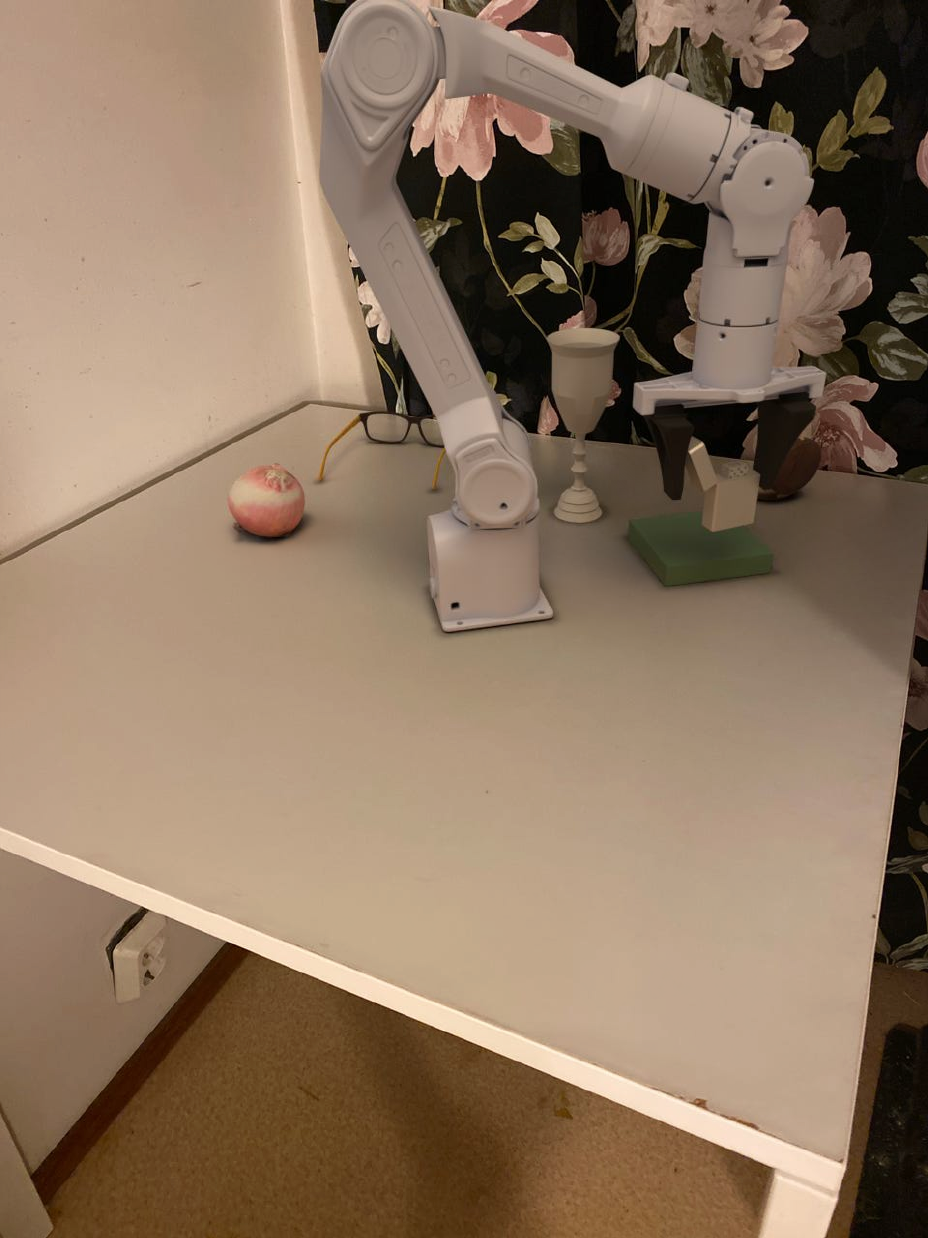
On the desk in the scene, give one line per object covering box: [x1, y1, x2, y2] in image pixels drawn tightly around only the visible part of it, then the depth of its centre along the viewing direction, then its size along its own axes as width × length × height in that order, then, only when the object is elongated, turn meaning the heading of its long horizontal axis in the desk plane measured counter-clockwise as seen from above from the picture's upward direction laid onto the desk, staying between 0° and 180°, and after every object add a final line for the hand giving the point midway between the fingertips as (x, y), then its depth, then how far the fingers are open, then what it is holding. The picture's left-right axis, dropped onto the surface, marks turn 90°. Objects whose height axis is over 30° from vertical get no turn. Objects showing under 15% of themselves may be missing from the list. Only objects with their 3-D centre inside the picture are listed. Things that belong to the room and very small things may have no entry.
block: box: [627, 510, 774, 587], centre depth 81 cm, size 10×10×2 cm
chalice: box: [546, 327, 621, 524], centre depth 86 cm, size 7×7×18 cm
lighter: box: [685, 435, 760, 532], centre depth 70 cm, size 7×2×8 cm, turn 110°
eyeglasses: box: [318, 410, 446, 491], centre depth 104 cm, size 14×14×4 cm
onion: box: [227, 462, 306, 538], centre depth 88 cm, size 8×8×7 cm
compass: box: [757, 435, 822, 501], centre depth 91 cm, size 8×8×7 cm
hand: (716, 490), depth 70 cm, fingers closed on lighter, 7 cm apart
